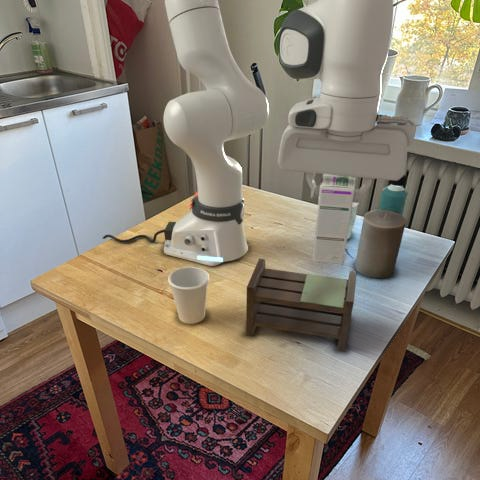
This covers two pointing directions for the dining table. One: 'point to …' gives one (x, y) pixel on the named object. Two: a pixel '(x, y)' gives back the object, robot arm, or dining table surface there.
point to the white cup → (352, 218)
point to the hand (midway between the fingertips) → (335, 199)
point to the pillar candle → (379, 243)
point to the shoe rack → (300, 302)
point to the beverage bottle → (394, 196)
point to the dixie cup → (189, 293)
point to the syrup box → (333, 218)
